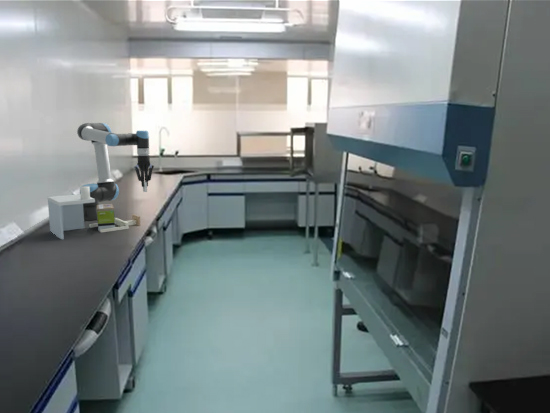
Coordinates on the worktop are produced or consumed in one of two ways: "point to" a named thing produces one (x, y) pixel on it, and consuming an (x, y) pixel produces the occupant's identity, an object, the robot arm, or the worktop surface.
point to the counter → (66, 213)
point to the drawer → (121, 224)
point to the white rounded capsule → (85, 192)
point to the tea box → (105, 216)
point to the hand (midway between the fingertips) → (145, 191)
